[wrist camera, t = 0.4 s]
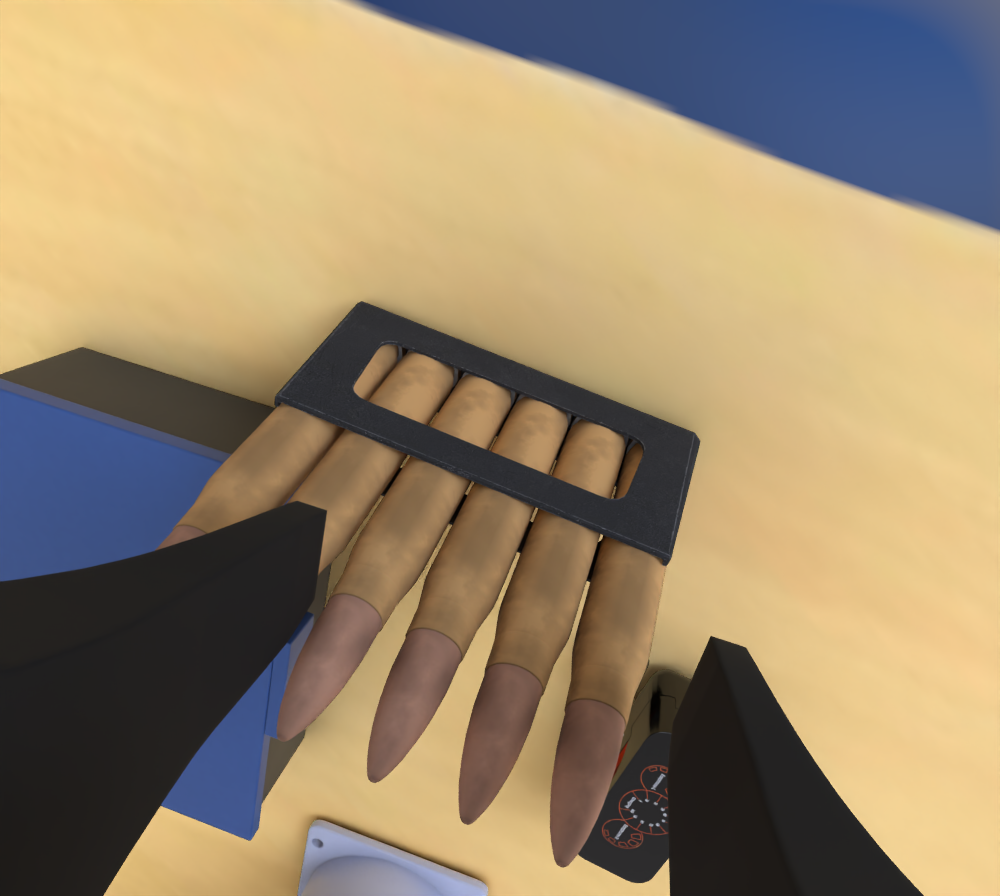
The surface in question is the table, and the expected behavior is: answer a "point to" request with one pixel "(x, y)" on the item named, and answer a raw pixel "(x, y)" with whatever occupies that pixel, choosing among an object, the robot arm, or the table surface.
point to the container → (138, 526)
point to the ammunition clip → (469, 544)
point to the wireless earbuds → (639, 786)
